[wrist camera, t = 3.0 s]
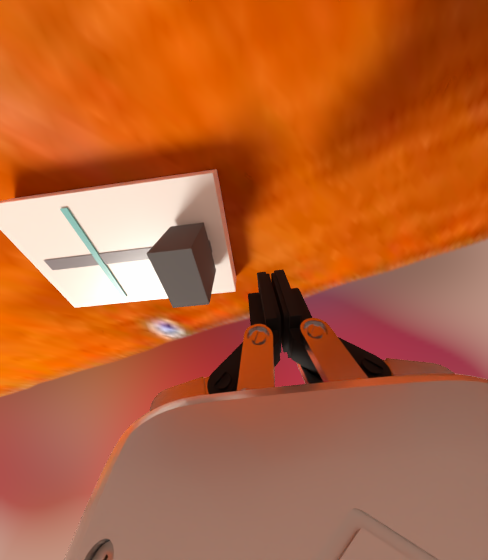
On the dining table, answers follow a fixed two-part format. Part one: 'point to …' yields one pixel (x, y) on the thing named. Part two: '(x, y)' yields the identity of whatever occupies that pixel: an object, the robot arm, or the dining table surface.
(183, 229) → the fader knob
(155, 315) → the dining table surface
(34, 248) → the fader console
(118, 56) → the dining table surface
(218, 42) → the dining table surface
